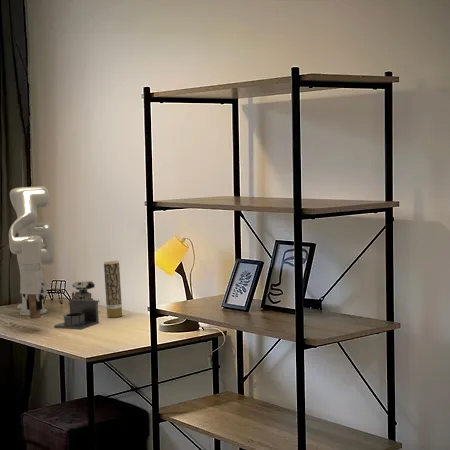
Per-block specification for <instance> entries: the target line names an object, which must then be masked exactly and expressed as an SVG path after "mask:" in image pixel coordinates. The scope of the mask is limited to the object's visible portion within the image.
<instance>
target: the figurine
mask: <svg viewBox="0 0 450 450" xmlns="http://www.w3.org/2000/svg"><path fill="white" fill-rule="evenodd" d="M71 286H72V288H75V289H76V290H77V291H73V292H71V299H75V300H94V298H93V297H92V293H91V292H89V291H88V290H91V289H94V288H95V283H94V282H93V281H91V280H90V281H89V280H88V281H87V280H86V281H85V280H84V281H83V280H81V281H74V282H73V283H72V284H71ZM97 303H98V304H99V303H100V299H99V298H98V300H97Z"/></svg>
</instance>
